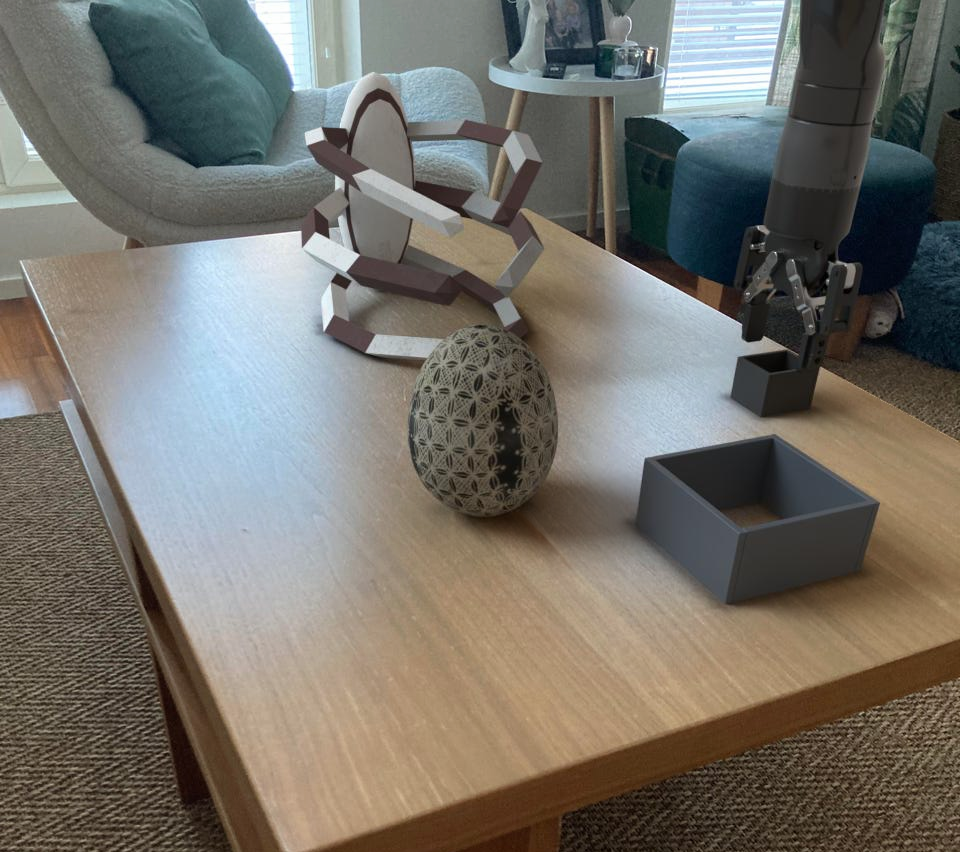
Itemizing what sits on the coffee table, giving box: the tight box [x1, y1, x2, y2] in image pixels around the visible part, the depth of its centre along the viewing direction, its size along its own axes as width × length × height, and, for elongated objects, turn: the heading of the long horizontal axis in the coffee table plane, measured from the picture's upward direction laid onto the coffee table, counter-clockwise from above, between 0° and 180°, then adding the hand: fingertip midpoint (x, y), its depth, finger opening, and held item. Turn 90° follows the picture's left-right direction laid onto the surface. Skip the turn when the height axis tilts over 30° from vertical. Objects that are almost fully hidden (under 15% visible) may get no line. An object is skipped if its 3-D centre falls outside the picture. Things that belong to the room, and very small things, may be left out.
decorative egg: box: [406, 323, 559, 518], centre depth 80 cm, size 12×12×15 cm
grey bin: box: [635, 433, 881, 605], centre depth 78 cm, size 12×12×6 cm
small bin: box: [729, 348, 821, 418], centre depth 101 cm, size 6×5×5 cm
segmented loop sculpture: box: [300, 71, 546, 362], centre depth 112 cm, size 24×27×35 cm
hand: (778, 355), depth 99 cm, fingers open, 8 cm apart
